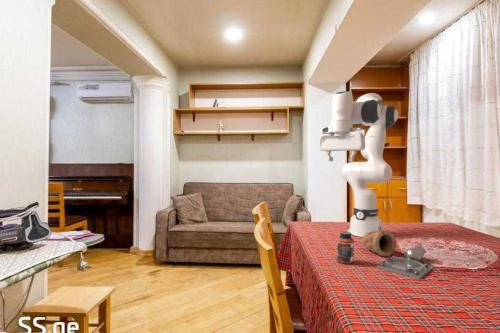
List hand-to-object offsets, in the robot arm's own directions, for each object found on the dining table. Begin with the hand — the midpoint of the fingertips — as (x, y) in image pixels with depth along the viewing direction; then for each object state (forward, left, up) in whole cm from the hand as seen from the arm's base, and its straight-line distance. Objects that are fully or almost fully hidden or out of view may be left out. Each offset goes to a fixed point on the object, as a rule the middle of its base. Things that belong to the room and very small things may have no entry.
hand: (340, 161), depth 124 cm
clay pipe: (-14, +11, -39) cm, 43 cm away
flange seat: (-5, +26, -39) cm, 47 cm away
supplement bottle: (+10, +8, -39) cm, 41 cm away
